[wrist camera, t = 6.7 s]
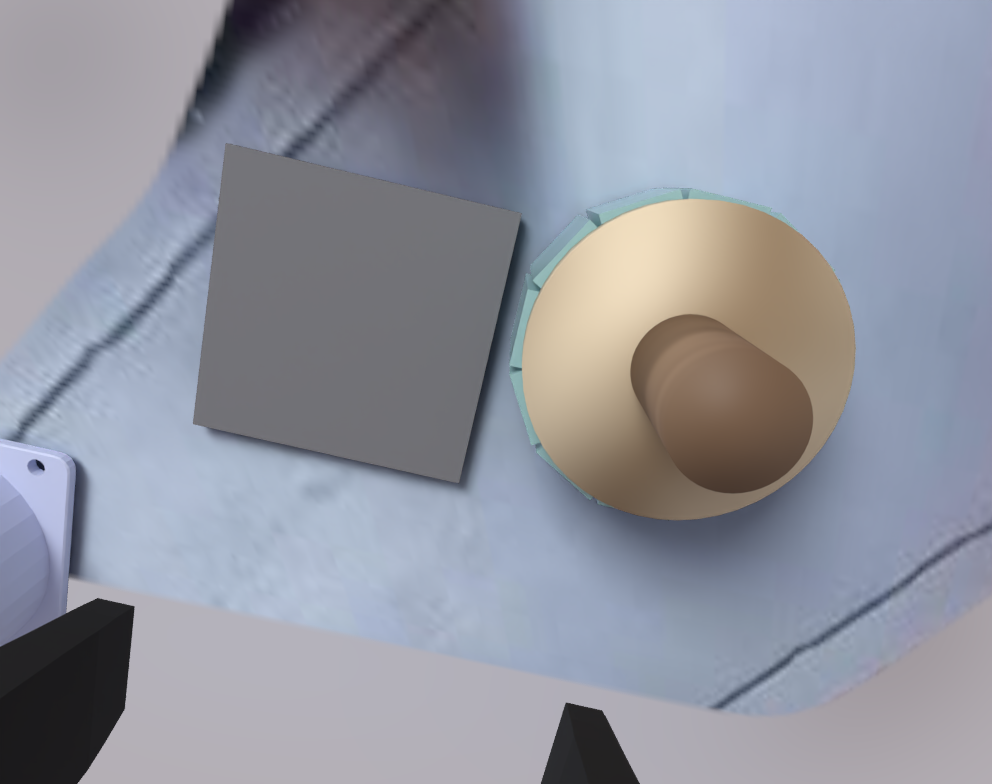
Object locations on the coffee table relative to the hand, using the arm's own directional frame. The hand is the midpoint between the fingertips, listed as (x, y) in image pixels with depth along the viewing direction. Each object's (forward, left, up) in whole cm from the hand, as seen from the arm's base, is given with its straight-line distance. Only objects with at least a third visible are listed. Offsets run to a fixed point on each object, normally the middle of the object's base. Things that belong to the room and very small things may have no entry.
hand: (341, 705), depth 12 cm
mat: (-3, +4, -10) cm, 11 cm away
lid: (+6, +5, -7) cm, 11 cm away
